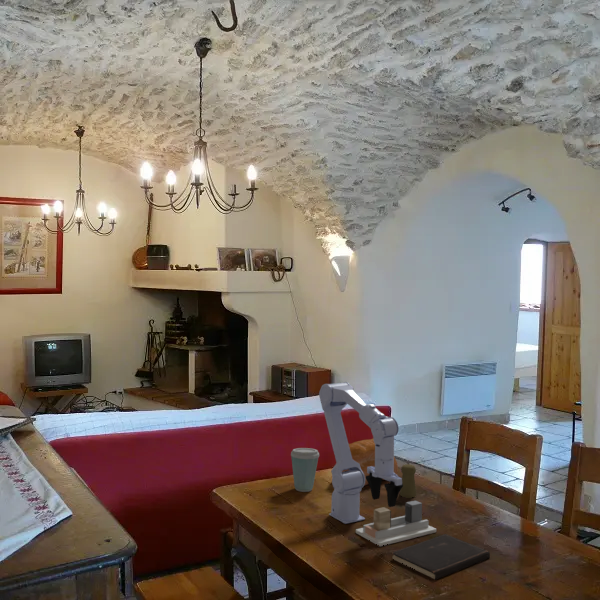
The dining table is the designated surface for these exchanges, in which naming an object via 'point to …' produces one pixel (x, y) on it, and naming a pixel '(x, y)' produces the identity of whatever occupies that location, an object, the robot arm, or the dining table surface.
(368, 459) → the bread
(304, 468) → the disposable coffee cup
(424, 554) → the hardcover book
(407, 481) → the cork
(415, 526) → the rail
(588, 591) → the dining table surface
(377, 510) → the block
